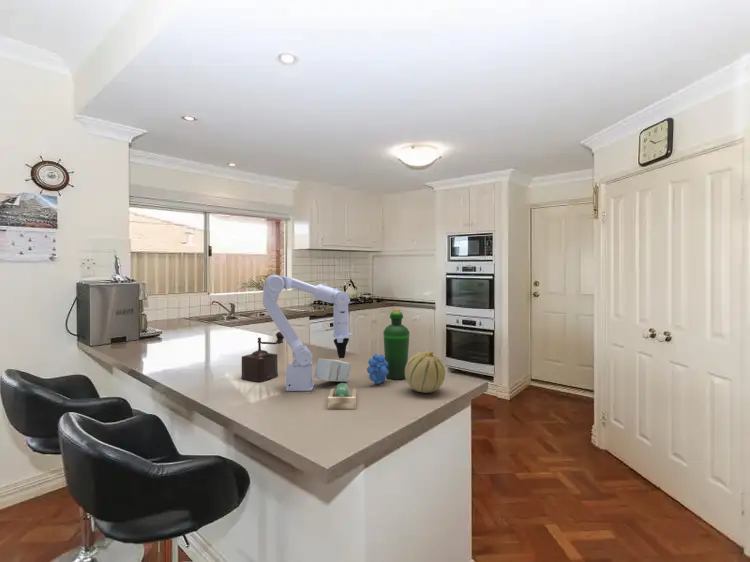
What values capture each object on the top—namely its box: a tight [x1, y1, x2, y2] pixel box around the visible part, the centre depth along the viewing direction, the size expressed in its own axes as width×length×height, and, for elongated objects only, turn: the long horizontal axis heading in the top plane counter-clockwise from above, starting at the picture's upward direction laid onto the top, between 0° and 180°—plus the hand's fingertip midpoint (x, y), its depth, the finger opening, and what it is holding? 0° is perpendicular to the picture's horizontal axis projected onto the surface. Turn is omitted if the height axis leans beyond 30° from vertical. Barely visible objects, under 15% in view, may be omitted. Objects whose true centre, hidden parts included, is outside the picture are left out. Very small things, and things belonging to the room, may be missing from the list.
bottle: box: [383, 308, 410, 381], centre depth 166 cm, size 11×11×28 cm
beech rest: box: [327, 388, 358, 410], centre depth 136 cm, size 9×13×4 cm
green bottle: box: [335, 382, 349, 397], centre depth 138 cm, size 4×4×11 cm
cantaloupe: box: [404, 350, 446, 394], centre depth 147 cm, size 15×15×15 cm
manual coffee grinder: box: [241, 331, 285, 384], centre depth 167 cm, size 16×11×18 cm
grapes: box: [366, 353, 389, 385], centre depth 156 cm, size 12×7×12 cm, turn 138°
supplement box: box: [313, 357, 352, 383], centre depth 157 cm, size 7×7×13 cm
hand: (341, 357), depth 155 cm, fingers closed
